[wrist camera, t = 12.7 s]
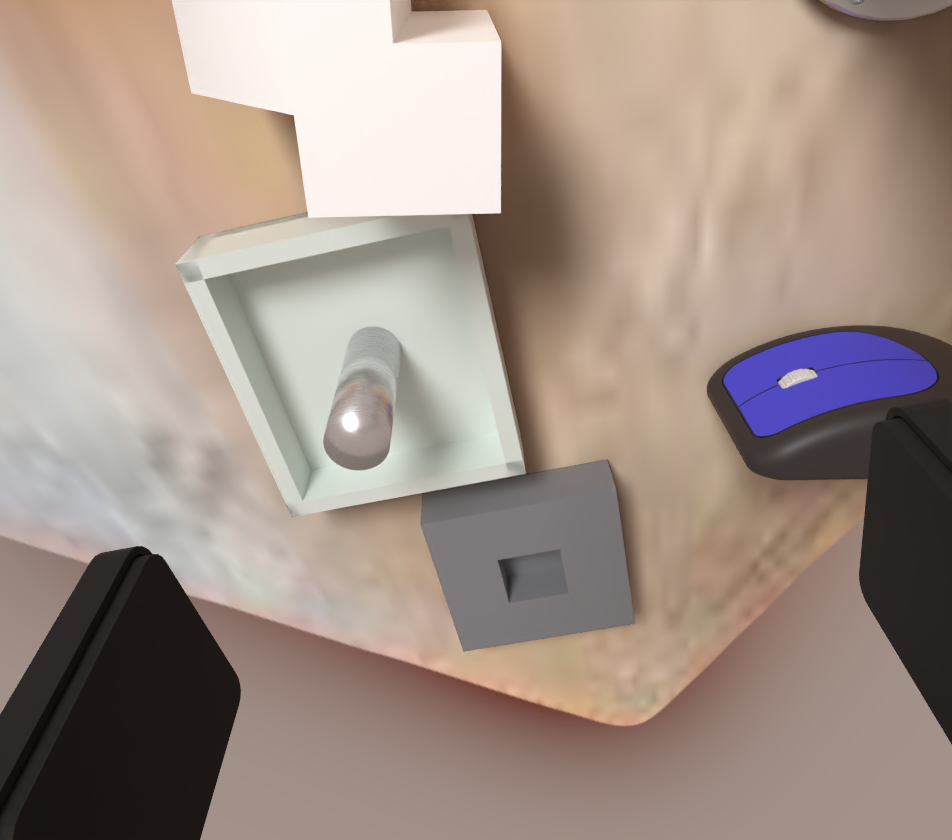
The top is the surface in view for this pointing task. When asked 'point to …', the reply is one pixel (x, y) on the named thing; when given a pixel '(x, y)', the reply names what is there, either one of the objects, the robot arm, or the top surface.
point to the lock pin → (364, 400)
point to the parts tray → (326, 339)
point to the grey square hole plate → (530, 555)
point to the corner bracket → (363, 96)
